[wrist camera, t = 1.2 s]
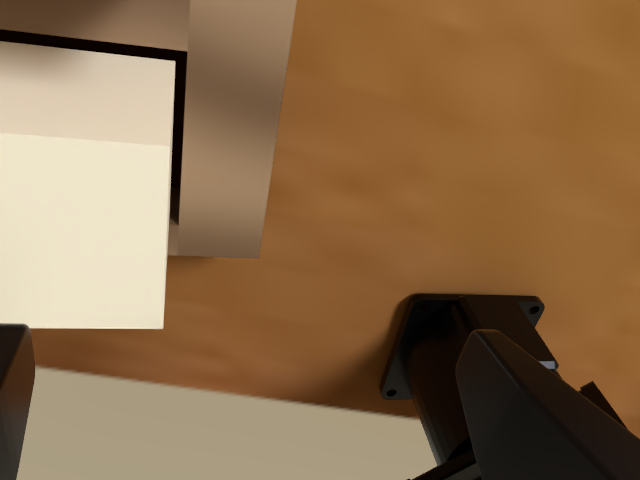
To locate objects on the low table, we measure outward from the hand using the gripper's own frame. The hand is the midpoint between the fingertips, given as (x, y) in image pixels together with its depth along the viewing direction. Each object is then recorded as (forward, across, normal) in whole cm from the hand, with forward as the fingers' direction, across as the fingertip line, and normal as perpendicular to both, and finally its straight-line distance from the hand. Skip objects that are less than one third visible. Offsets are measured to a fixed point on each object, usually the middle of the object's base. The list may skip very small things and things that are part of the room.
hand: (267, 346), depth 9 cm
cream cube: (+10, +4, +2) cm, 11 cm away
